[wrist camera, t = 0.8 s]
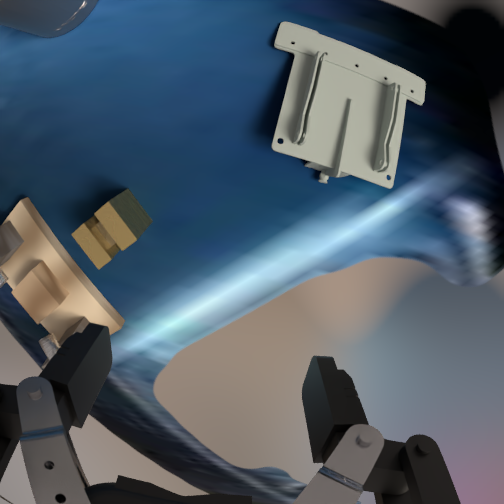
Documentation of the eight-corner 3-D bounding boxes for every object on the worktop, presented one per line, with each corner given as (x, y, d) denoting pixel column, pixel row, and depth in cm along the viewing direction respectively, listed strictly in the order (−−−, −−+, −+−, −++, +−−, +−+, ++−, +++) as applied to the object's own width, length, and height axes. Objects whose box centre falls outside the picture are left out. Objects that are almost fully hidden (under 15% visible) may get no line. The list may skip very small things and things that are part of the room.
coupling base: (-9, 245, 30) (-51, 274, 22) (27, 196, 28) (-21, 221, 20) (77, 350, 36) (52, 395, 28) (125, 320, 34) (100, 370, 26)
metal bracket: (418, 205, 24) (245, 148, 22) (386, 205, 30) (240, 161, 28) (435, 66, 23) (287, 2, 21) (405, 83, 28) (276, 33, 27)
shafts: (-22, 248, 24) (-42, 262, 21) (-16, 238, 24) (-37, 252, 20) (76, 367, 30) (65, 389, 27) (86, 361, 30) (74, 384, 26)
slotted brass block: (117, 248, 31) (98, 269, 26) (93, 217, 29) (71, 234, 25) (152, 221, 30) (137, 239, 25) (128, 188, 28) (108, 201, 24)
